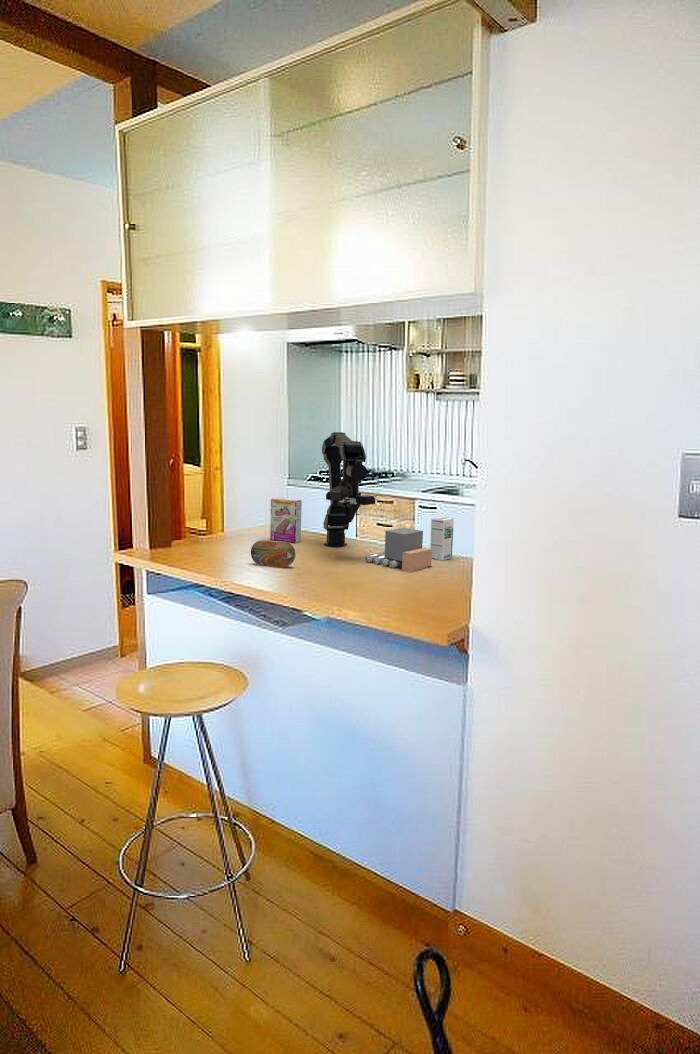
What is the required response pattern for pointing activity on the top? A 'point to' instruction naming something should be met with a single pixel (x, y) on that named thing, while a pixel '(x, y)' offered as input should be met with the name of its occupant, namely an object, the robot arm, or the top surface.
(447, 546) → the syrup box
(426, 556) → the block
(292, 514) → the candy bar box
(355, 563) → the top surface
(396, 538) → the grey block
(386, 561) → the roller track
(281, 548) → the tin
